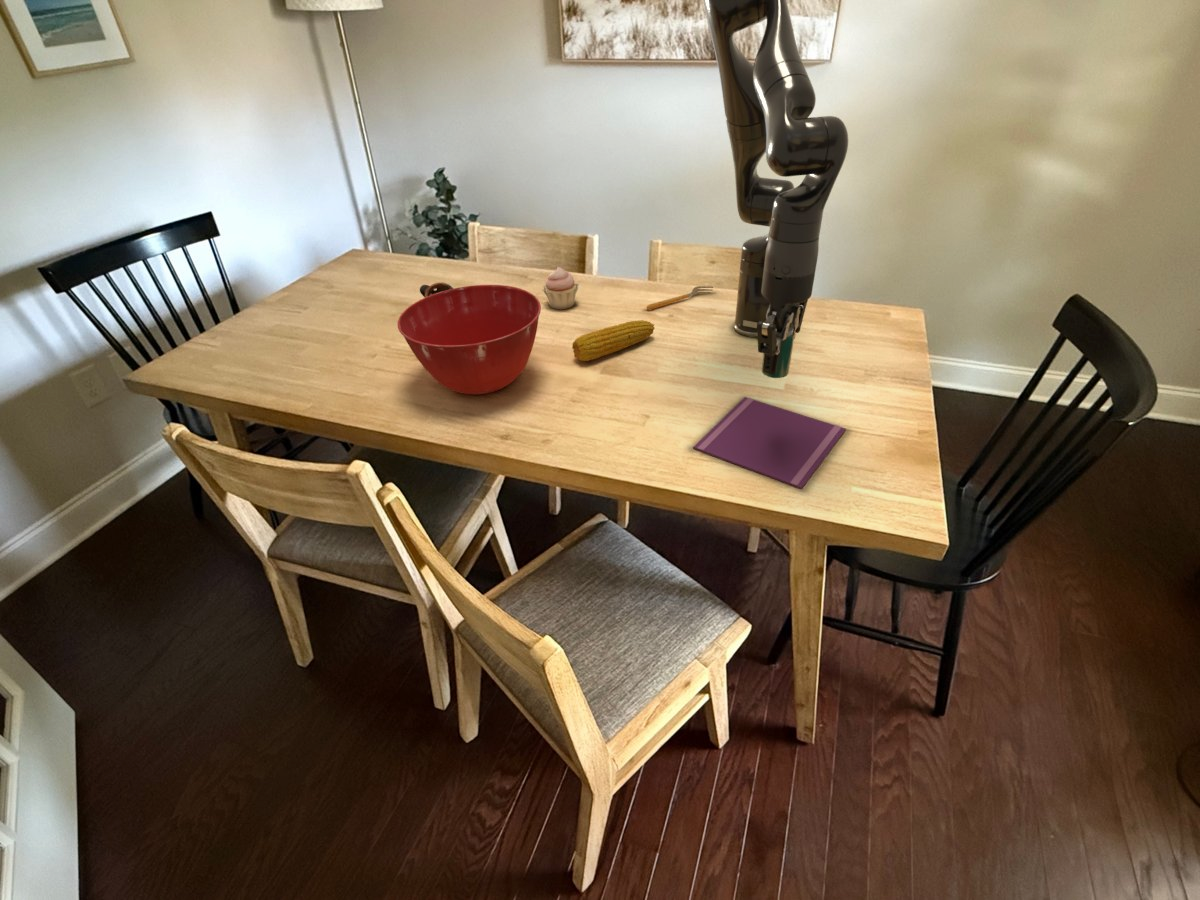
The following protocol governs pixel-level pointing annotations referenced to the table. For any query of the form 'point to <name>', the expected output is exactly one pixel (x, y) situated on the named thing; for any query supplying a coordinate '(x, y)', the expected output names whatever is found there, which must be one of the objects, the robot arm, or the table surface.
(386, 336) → the table surface
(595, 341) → the food
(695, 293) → the fork
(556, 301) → the cupcake
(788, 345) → the salt shaker
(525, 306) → the mixing bowl
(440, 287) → the pottery mug
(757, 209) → the robot arm
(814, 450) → the napkin
